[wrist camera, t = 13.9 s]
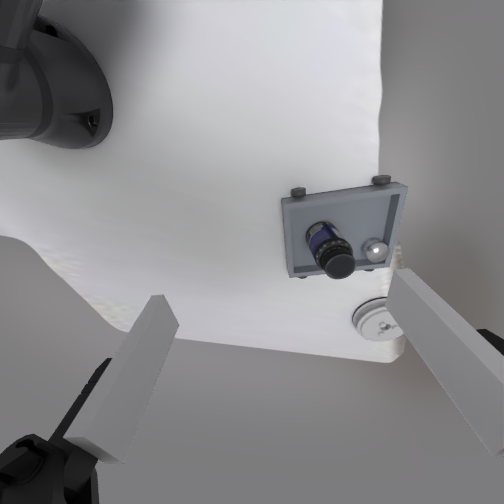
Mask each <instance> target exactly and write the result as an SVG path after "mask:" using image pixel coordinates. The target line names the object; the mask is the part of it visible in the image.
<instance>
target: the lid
mask: <svg viewBox="0 0 504 504" xmlns="http://www.w3.org/2000/svg"><path fill="white" fill-rule="evenodd" d="M386 300H387V298H383V299H377V300H373V301H371V302H368V303H366V304H364V305H363V306H362V307H360V308H359V309H358V310H357V311H356V313H355V314H354V317H353V323H354V325H355V327H356V328H357V332H358V334H359V335H360V336H361V337H363V338H365V339H367V340H371V341H388V340H391V339H394V338H397V337H399V336H400V335H402V334H403V333H404V332H403V331H402V330H401V328H400V327H399V325H398V324H397V323H396V321H395V320H394V318H393V317H392V316H391V314H390V313H389V311H388V310H387V308H386V307H385V304H386Z"/></svg>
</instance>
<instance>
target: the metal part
mask: <svg viewBox="0 0 504 504" xmlns="http://www.w3.org/2000/svg"><path fill="white" fill-rule="evenodd" d="M361 251H362V252H363V253H364V255H365V256H366V257H367V258H368V259H369V260H370V261H371V262H374V263H377V262H381V261H383V260H385V259H386V258H387V257H388V256H389V254H390V248H389V247H388V246H387V245H386V244H385V243H384V242H383V241H381V240H380V239H379V238H377V237H372V238H369V239H367V240H365V241H364V242H363V243H362V245H361Z"/></svg>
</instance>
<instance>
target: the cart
mask: <svg viewBox="0 0 504 504" xmlns="http://www.w3.org/2000/svg"><path fill="white" fill-rule="evenodd" d="M390 180H391V176H389V175H380V176H375V177H374V184H375V185H370V186H363V187H356V188H349V189H343V190H336V191H329V192H322V193H316V194H309V195H306V189H305V188H295V189H292V197H289V198H282V199H281V200H282V212H283V223H284V235H285V247H286V259H287V269H288V274H289V278H293V277H298V278H301V279H303V278H306V277H307V276H311V275H320V274H326V273H325V271H324V270H322V269H321V268H319V267H318V265H317V264H316V262H315V260H314V258H313V255H312V253H311V251H310V249H309V247H308V244H307V242H306V233H307V231H308V229H309V228H310V227H311V226H313V225H314V224H316V223H319V222H329V223H332V224H333V225H334V226H335V227H336V228H337V229H338V230H339V232H340V233H341V234H342V235H343V237H344V238H345V239H346V240H347V241H348V243H349V244H350V245H351V247H352V249H353V257H354V258H355V260H356V268H355V270H354V271H357V270H365V271H373V270H374V269H376V268H385V267H390V263H391V259H392V254H393V250H394V246H395V241H396V237H397V233H398V228H399V224H400V219H401V215H402V211H403V206H404V202H405V198H406V194H407V189H408V186H405V185H403V184H400V183H398V182H390ZM372 237H377V238H379V239H380V240H381V241H383V242H384V243H385V244H386V245H387V246H388V247H389V248H390V254H389V256H388V257H387V258H386V259H385V260H383V261H381V262H377V263H374V262H371V261H370V260H369V259H368V258H367V257H366V256H365V255H364V253H363V252H362V251H361V245H362V243H363V242H364V241H365V240H367V239H369V238H372Z"/></svg>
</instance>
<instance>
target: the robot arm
mask: <svg viewBox="0 0 504 504" xmlns="http://www.w3.org/2000/svg"><path fill="white" fill-rule="evenodd" d="M42 1H43V0H0V140H5V139H20V138H29V139H32V140H36V141H39V142H43V143H46V144H50V145H53V146H56V147H60V148H67V149H79V148H87V147H91V146H94V145H96V144H98V143H99V142H101V141H102V140H103V139H104V138H105V137H106V135H107V133H108V132H109V129H110V126H111V123H112V115H113V108H112V99H111V95H110V91H109V88H108V85H107V82H106V79H105V77H104V75H103V73H102V71H101V69H100V67H99V65H98V64H97V62H96V61H95V59H94V58H93V56H92V55H91V54H90V52H89V51H88V50H87V49H86V47H85V46H84V45H83V44H82V43H81V42H80V41H79V40H78V39H77V38H76V37H75V36H74V35H73V34H71V33H70V32H69V31H67V30H66V29H65V28H63V27H62V26H60V25H58V24H56V23H54V22H52V21H50V20H49V19H47V18H45V17H43V16H41V15H38V12H39V10H40V7H41V4H42ZM385 307H386V308H387V310H388V311H389V313H390V314H391V316H392V317H393V318H394V320H395V321H396V323H397V324H398V325H399V327H400V328H401V330H402V331H403V332H404V334H405V335H406V337H407V338H408V339H409V341H410V342H411V344H412V345H413V346H414V348H415V349H416V351H417V352H418V353H419V355H420V356H421V358H422V359H423V360H424V362H425V363H426V365H427V366H428V367H429V369H430V370H431V372H432V373H433V374H434V376H435V377H436V379H437V380H438V381H439V383H440V384H441V386H442V387H443V389H444V390H445V391H446V393H447V394H448V396H449V397H450V398H451V400H452V401H453V403H454V404H455V405H456V407H457V408H458V409H459V411H460V412H461V414H462V415H463V416H464V418H465V419H466V421H467V422H468V424H469V425H470V426H471V428H472V429H473V431H474V432H475V433H476V435H477V436H478V437H479V439H480V440H481V442H482V443H483V445H484V446H485V447H486V449H487V450H488V452H489V453H490V454H491V456H492V457H504V339H502V338H500V337H499V336H497V335H495V334H493V333H492V332H490V331H488V330H486V329H480V330H475V329H474V328H473V327H471V325H470V324H468V323H467V322H466V321H465V320H464V319H463V318H462V317H461V316H460V315H459V314H458V313H457V312H456V311H454V310H453V309H452V308H451V307H450V306H449V305H448V304H447V303H446V302H445V301H444V300H443V299H441V298H440V297H439V296H438V295H437V294H436V293H435V292H434V291H433V290H432V289H431V288H429V286H428V285H426V284H425V283H424V282H423V281H422V280H421V279H420V278H419V277H418V276H417V275H416V274H415V273H414V272H413V271H411V270H410V269H409V268H408V269H398V270H394V272H393V276H392V280H391V284H390V288H389V292H388V296H387V300H386V304H385ZM178 327H179V324H178V322H177V320H176V318H175V316H174V314H173V312H172V310H171V308H170V306H169V304H168V302H167V300H166V298H165V296H164V295H155V296H151V298H150V300H149V301H148V303H147V304H146V306H145V307H144V309H143V311H142V312H141V314H140V315H139V317H138V319H137V320H136V322H135V323H134V325H133V327H132V328H131V330H130V331H129V333H128V335H127V336H126V338H125V339H124V341H123V343H122V344H121V346H120V347H119V349H118V350H117V352H116V354H115V355H114V357H113V358H107V359H106V360H105V361H104V362H103V363H102V364H101V365H100V366H99V367H98V368H97V369H96V370H95V372H94V373H93V375H92V376H91V378H90V379H89V381H88V384H86V385H85V387H84V388H83V390H82V392H81V394H80V395H79V396H78V397H77V399H76V400H75V402H74V403H73V405H72V406H71V408H70V409H69V411H68V412H67V414H66V415H65V417H64V418H63V420H62V421H61V423H60V425H59V426H58V427H57V429H56V430H55V432H54V433H53V435H52V436H51V437H50V439H49V440H48V441H46V440H44V439H42V438H41V437H39V436H37V435H35V434H30V435H26V436H24V437H22V438H20V439H18V440H16V441H15V442H14V443H13V444H11V445H10V446H9V447H7V448H6V449H5V450H4V451H3V452H2V453H1V454H0V504H99V493H98V479H97V472H96V469H95V468H94V467H95V465H96V463H97V461H98V459H99V460H101V461H102V462H104V463H106V464H123V463H124V462H125V460H126V457H127V455H128V453H129V450H130V447H131V445H132V442H133V440H134V437H135V435H136V432H137V430H138V427H139V425H140V422H141V420H142V417H143V415H144V412H145V410H146V407H147V405H148V402H149V399H150V397H151V395H152V392H153V390H154V387H155V384H156V382H157V379H158V377H159V374H160V372H161V369H162V367H163V364H164V362H165V359H166V357H167V354H168V352H169V349H170V346H171V344H172V342H173V339H174V337H175V334H176V332H177V329H178Z"/></svg>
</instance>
